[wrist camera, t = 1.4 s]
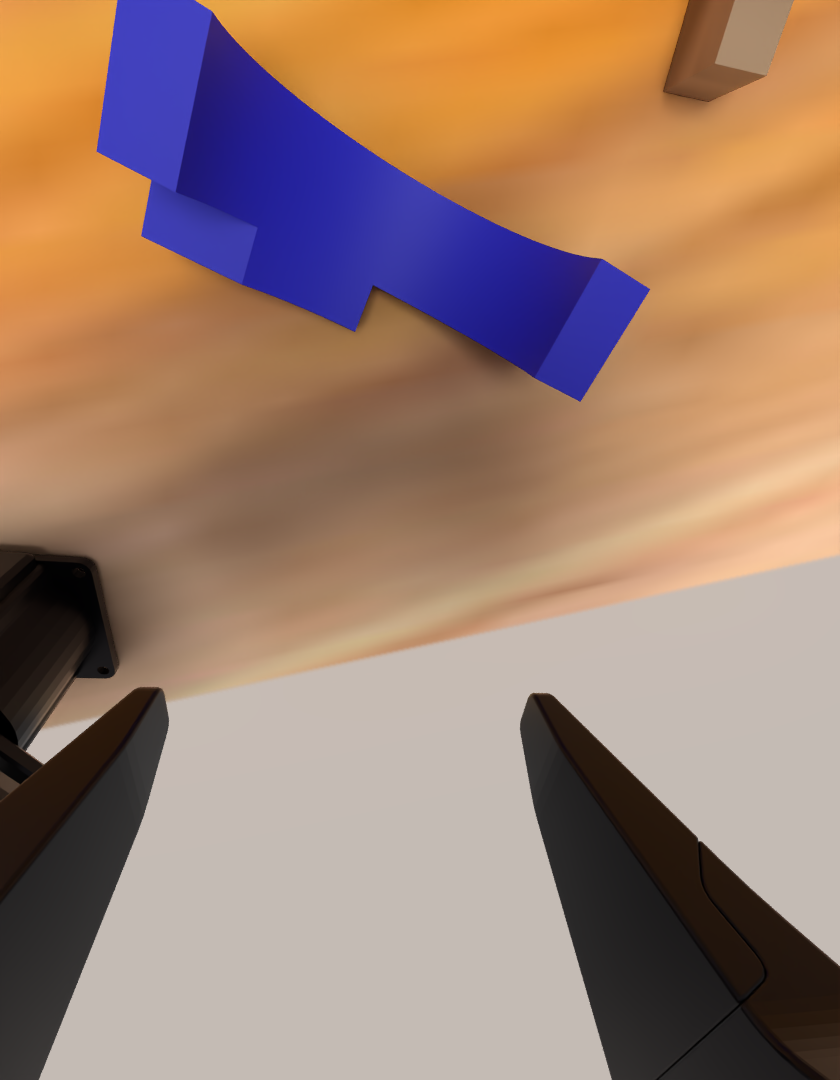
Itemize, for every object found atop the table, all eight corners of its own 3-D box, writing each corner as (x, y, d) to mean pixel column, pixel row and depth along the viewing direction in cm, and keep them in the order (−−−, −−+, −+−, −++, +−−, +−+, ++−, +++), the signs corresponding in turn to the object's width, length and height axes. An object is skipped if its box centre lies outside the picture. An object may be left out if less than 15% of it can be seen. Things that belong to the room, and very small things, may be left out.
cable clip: (178, 238, 16) (85, 231, 10) (214, 67, 14) (123, -45, 8) (500, 396, 19) (550, 449, 14) (564, 278, 17) (650, 289, 12)
